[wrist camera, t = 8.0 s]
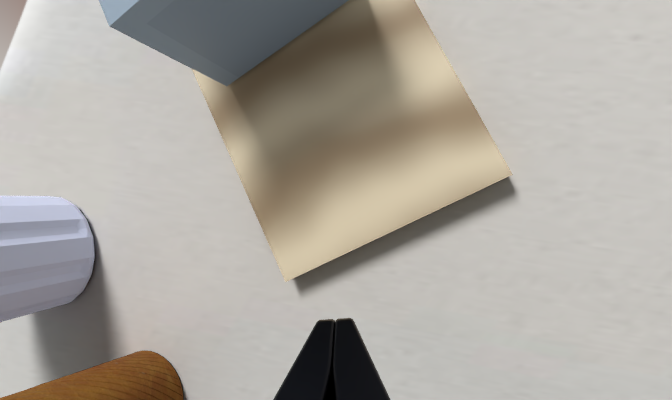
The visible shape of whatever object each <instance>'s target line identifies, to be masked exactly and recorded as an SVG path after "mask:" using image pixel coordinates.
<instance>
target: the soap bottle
mask: <svg viewBox="0 0 672 400" xmlns="http://www.w3.org/2000/svg"><path fill="white" fill-rule="evenodd" d="M94 258H95V253H94V241H93V235H92V233H91V230H90V227H89V224H88V222H87V219H86V218H85V217H84V215H83V214H82V213H81V211H80V210H79V209H78V207H77V206H76V205H74V204H72V203H71V202H69V201H67V200H66V199H64V198H61V197H52V196H0V322H2V321H6V320H9V319H13V318H17V317H20V316H24V315H28V314H31V313H35V312H39V311H42V310H46V309H50V308H53V307H57V306H60V305H64V304H67V303H70V302H71V301H73V300H74V299H75V298H76V297H77V296H78V295H79V294H80V293H81V292H83V291H84V289H85V287H86V285H87V283H88V281H89V279H90V277H91V275H92V269H93V264H94Z"/></svg>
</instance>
